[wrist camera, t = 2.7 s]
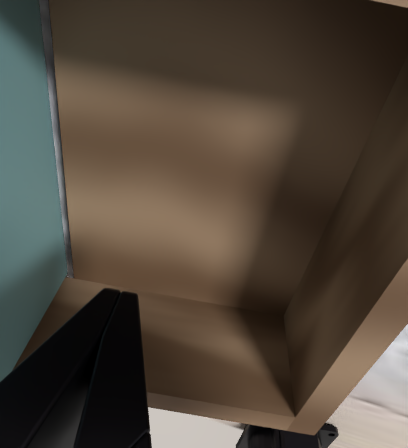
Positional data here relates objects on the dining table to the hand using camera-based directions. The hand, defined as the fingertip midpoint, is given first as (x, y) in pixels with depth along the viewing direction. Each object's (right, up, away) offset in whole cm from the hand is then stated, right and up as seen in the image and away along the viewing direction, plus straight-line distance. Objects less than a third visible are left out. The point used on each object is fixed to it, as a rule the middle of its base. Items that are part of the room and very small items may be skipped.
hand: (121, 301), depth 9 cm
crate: (+2, +4, +6) cm, 7 cm away
